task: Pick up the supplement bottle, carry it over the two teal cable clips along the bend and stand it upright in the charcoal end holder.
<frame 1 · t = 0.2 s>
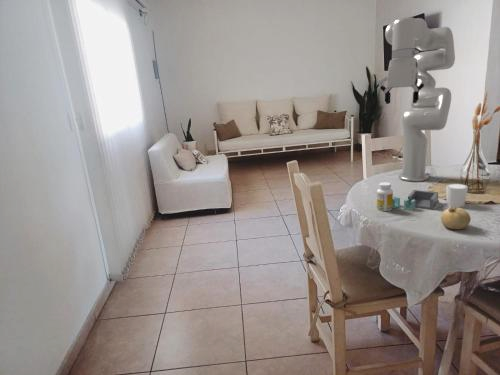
hand: (401, 103, 134), 36 cm above the table, tool pointing down, fingers open, 9 cm apart
clip b: (409, 208, 128), on the table
onion: (454, 227, 111), on the table
white cup: (455, 205, 129), on the table
clip a: (394, 206, 132), on the table
holder: (422, 204, 132), on the table
supplement bottle: (384, 209, 131), on the table
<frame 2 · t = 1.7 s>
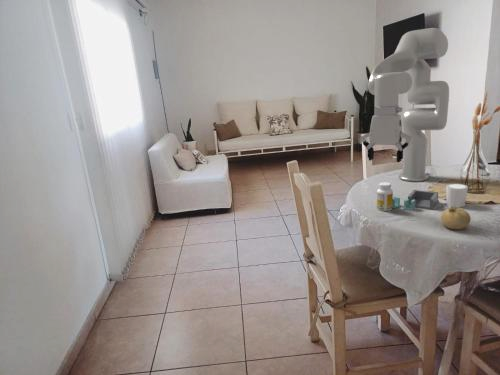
hand: (384, 160, 125), 18 cm above the table, tool pointing down, fingers open, 9 cm apart
nothing on the table moved.
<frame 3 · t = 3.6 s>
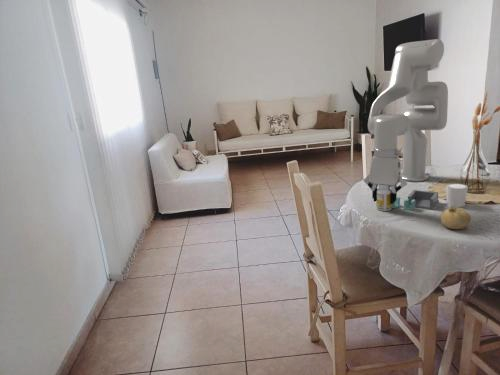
hand: (384, 201, 130), 3 cm above the table, tool pointing down, fingers closed on supplement bottle, 5 cm apart
supplement bottle: (384, 209, 131), on the table, touching gripper
everything else where it was.
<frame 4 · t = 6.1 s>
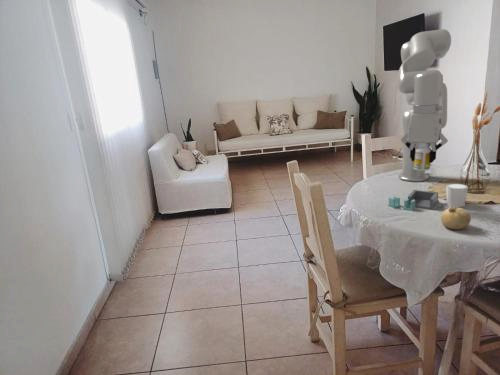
hand: (422, 160, 126), 17 cm above the table, tool pointing down, fingers closed on supplement bottle, 5 cm apart
supplement bottle: (421, 169, 127), point 13 cm above the table, touching gripper
everything else where it was.
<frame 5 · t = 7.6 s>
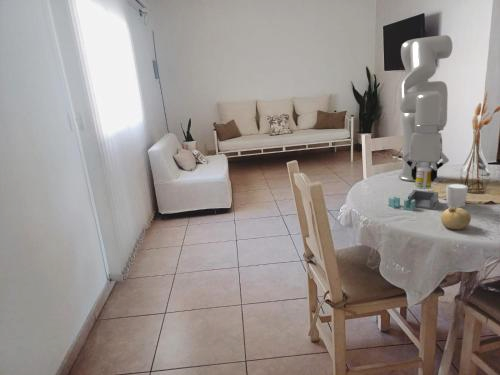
hand: (423, 179, 128), 10 cm above the table, tool pointing down, fingers closed on supplement bottle, 5 cm apart
supplement bottle: (422, 188, 129), point 7 cm above the table, touching gripper
everything else where it was.
when the fingers open (6 cm above the table, at t = 8.8 s): supplement bottle drops 2 cm, resting on holder.
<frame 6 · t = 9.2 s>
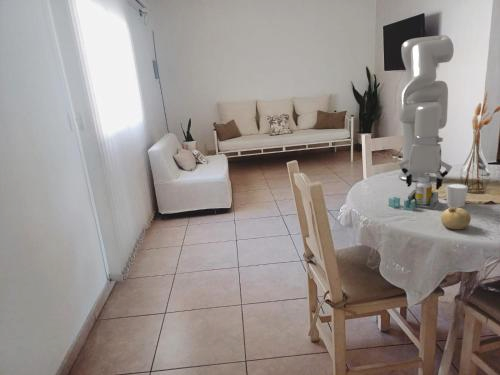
hand: (423, 187, 129), 7 cm above the table, tool pointing down, fingers open, 9 cm apart
supplement bottle: (423, 203, 131), point 1 cm above the table, touching holder
everything else where it was.
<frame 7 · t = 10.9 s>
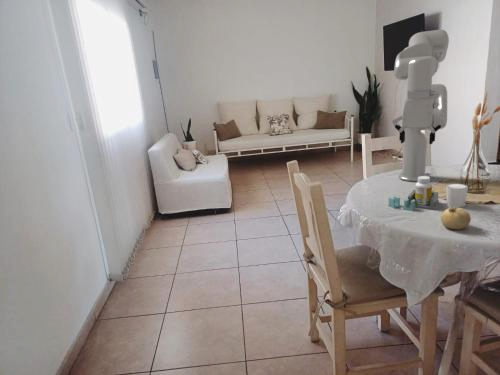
hand: (416, 142, 130), 22 cm above the table, tool pointing down, fingers open, 9 cm apart
nothing on the table moved.
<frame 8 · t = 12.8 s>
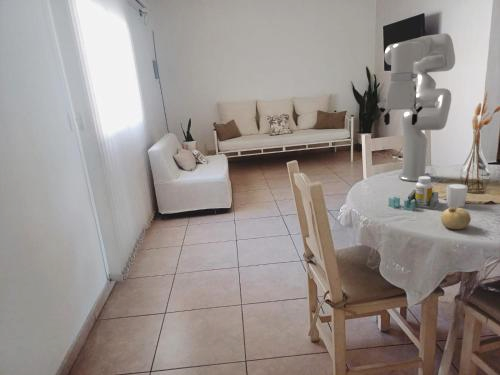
hand: (400, 124, 136), 28 cm above the table, tool pointing down, fingers open, 9 cm apart
nothing on the table moved.
at the end: supplement bottle inside the target area on the holder (0.4 cm from its centre), point 0.6 cm above the holder's base; supplement bottle tilted 1°; the gripper is holding nothing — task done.
